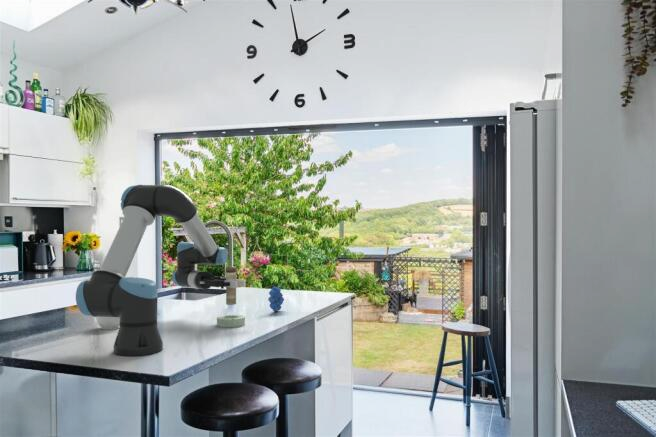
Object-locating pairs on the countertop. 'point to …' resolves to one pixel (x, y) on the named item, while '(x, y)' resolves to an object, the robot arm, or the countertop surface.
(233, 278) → the birch dowel
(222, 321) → the pale green ring
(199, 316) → the countertop surface
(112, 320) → the lidded jar
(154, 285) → the robot arm
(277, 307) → the grapes
